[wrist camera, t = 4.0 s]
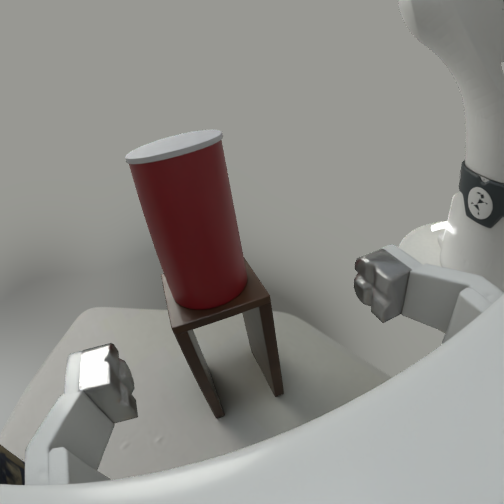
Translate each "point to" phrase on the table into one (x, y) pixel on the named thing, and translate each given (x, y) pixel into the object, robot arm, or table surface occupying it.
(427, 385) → the robot arm
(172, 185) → the tube
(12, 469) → the canister
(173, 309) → the brown wooden stand
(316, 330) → the table surface
